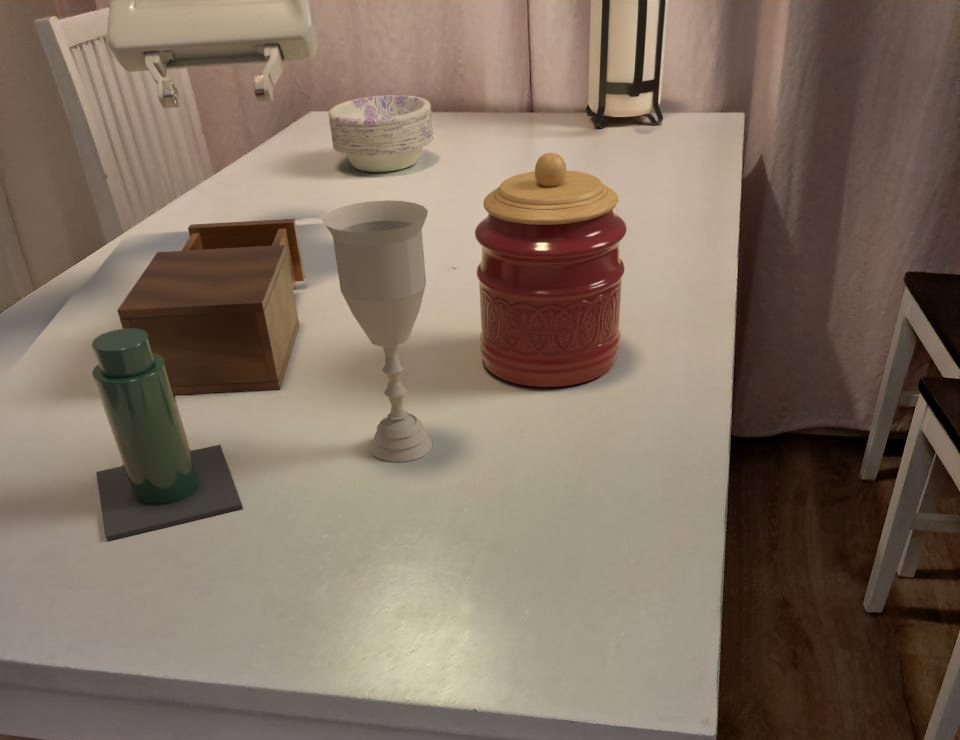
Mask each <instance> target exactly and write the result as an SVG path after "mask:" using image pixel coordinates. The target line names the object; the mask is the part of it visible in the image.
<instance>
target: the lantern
mask: <svg viewBox="0 0 960 740" xmlns="http://www.w3.org/2000/svg"><path fill="white" fill-rule="evenodd" d="M669 2H670V1H669V0H590V18H589V19H590V22H589V53H588V88H587V89H588V91H587V93H588V94H587V97H588V98H587V102H588V103H587V105H586V108H585V113H586V114H587V115H588V116H592V115H595V116H594V119H593V123H592V124H593V127H594V128H595V129H604V128H605V127H606V124H607V122H608V120H609V119H611V118H628V117H629V118H631V117H639V116H642V117H645V118H647V119H648V120H649V122H650V123H651V125H653V126H657V125H661V124H662V123H663V121H664V116H663V114H662V113H663V112H662V111H661V108H660V104H661V101H662V91H663V79H664V67H665V66H664V65H665V53H666V40H667V29H668V13H669ZM653 112H654V113H655V115H656V118H657V119H656V118H655V117H654V115H653V114H651V113H653Z"/></svg>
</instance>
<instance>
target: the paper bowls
mask: <svg viewBox="0 0 960 740" xmlns="http://www.w3.org/2000/svg"><path fill="white" fill-rule="evenodd" d="M327 116H328V122H329V129H330V134H331V142H332V149H333V150H334V151H335V152H339V153H341V154H344V155H345V156H346V158H347V159H348V161H349V163H350V164H351V166H352V167H354V168H355V169H357V170H359V171H363V172H367V173H368V172H369V173H387V172H388V173H389V172H394V171H395V172H396V171H401V170H403V169H406V168H409V167H411V166H413V165H415V164H416V163H417V162H418V161H419V160H420V158H421V154H422V151H423V148H424V147H426V146H427V145H430V144H431V143H432V142H433V141H434V127H433V126H434V125H433V115H432V105H431V102H430V101H429V100H428V99H426V98H424V97H421V96H420V97H419V96H417V95H416V96H415V95H405V94H386V95H385V94H384V95H371V96H363V97H359V98H358V97H357V98H353V99H350V100H346V101H343V102H340V103H338V104H336V105H334V106H332V107H331V108H330V109H329V111H328V114H327Z"/></svg>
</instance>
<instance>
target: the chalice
mask: <svg viewBox="0 0 960 740" xmlns="http://www.w3.org/2000/svg"><path fill="white" fill-rule="evenodd" d="M428 211H429V210H428V209H427V208H426V207H425V206H423V205H422V204H418V203H416V202H412V201H405V200H371V201H365V202H364V201H363V202H358V203H352V204H349V205H344V206H341V207H339V208H336V209H334V210H331V211H329V212H328V213H326V214H325V215H324V217H323V219H322V222H323V224H324V225H325V227H326V228H327V230H328V231H329V233H330V235H331V236H332V239H333V247H334V254H335V260H336V268H337V273H338V274H337V276H338V282H339V288H340V292H341V294H342V296H343V298H344V300H345V301H346V304H347V306H348V308H349V310H350V312H351V315H353V317H354V319H355V320H356V322H357V323H358V325H359V326H360V328H361V329H362V331H363V332H364V333H365V335H366V337H367V338H368V340H369V341H370V343H371V344H372V345H374V346H376V347H382V350H383V352H384V356H385V358H384V366H383V367H382V369H381V370H382V373H384V374H385V376H386V379H387V381H388V382H387V387H386V389H384V391H383V395H385V396H386V397H388V400H389V403H390V412H389V413H388V414H387V415H385V416H384V417H382V419H381V420H380V422H379V423H378V424H377V426H376V431H375V433H374V436H373V442H372V443H371V445H370V446H371V447H370V451H371V453H372V455H373V456H374V457H376V458H377V459H378V460H382V461H385V462H391V463H404V462H410V461H414V460H418V459H419V458H423V457H424V456H425V455H427V454H428V453H430V451H431V450H432V448H433V441H432V439H431V437H430V436H429V435H428V432H427V430H426V428H425V427H424V426H423V423H422V421H421V420H420V419H419V418H417V416H416V415H414V414H412V413H409V412H408V411H406V409H405V406H404V396H405V395H406V393H408V389H407V388H406V387H404V386H403V384H402V381H401V377H402V373H403V371H404V368H405V367H404V366H403V365H402V364H401V361H400V358H399V355H398V349H399V346H400V345H403V344H405V343H406V342H407V341H408V340H409V338H410V336H411V333H412V330H413V328H414V327H415V323H416V320H417V318H418V315H419V313H420V310H421V306H422V301H423V297H424V293H425V289H426V283H427V276H426V264H425V253H424V242H423V241H424V240H423V239H424V238H423V227H424V225H425V223H426V220H427V218H428Z"/></svg>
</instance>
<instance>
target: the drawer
mask: <svg viewBox="0 0 960 740" xmlns="http://www.w3.org/2000/svg"><path fill="white" fill-rule="evenodd" d="M187 231H188V235H189V238H188V239H187V241H186V243H185V244H184V246H183V247H182V249H181V250H180V251H186V250H204V249H222V248H240V247H258V246H276V245H285V248H286V254H287V259H288V265H289V270H290V276H291V281H292V287H293V290H294V289H295V286H296V282H304V281H305V278H306V275H305V269H304V263H303V257H302V252H301V245H300V240H299V233H298V227H297V223H296V219H295V218H281V219H265V220H248V221H247V220H246V221H230V222H229V221H228V222H212V223H196V224H195V223H194V224H189V226H188V227H187Z"/></svg>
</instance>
